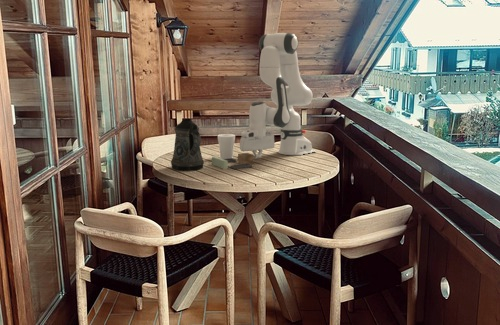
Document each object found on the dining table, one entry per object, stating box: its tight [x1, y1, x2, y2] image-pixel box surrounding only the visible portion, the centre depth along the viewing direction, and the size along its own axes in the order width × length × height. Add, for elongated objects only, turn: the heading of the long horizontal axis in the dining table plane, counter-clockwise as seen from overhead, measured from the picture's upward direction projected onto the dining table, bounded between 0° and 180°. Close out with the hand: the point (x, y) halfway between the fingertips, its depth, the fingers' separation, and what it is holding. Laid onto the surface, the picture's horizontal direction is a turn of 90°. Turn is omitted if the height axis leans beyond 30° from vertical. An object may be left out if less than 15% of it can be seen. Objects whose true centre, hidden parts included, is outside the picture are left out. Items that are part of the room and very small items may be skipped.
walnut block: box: [237, 152, 254, 165], centre depth 267 cm, size 6×6×5 cm
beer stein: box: [170, 118, 205, 172], centre depth 253 cm, size 16×19×25 cm
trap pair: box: [224, 157, 253, 170], centre depth 263 cm, size 10×21×1 cm, turn 31°
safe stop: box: [211, 155, 229, 170], centre depth 259 cm, size 2×14×4 cm, turn 30°
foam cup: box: [217, 133, 236, 159], centre depth 279 cm, size 10×9×13 cm
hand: (257, 157), depth 270 cm, fingers closed
